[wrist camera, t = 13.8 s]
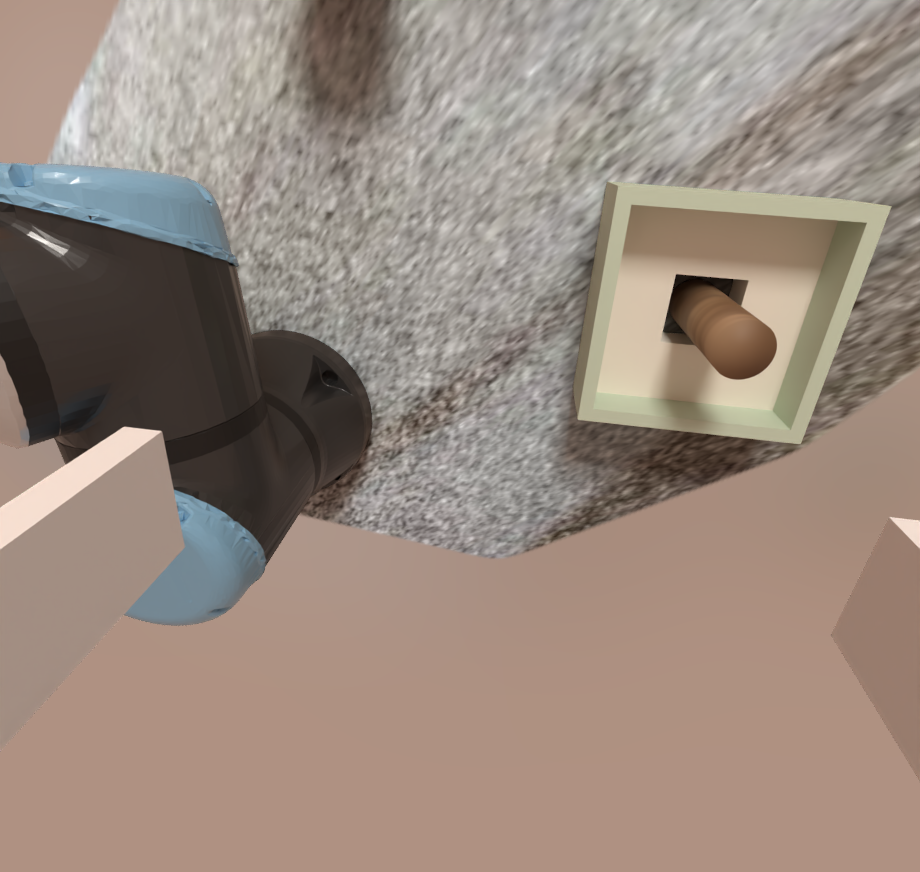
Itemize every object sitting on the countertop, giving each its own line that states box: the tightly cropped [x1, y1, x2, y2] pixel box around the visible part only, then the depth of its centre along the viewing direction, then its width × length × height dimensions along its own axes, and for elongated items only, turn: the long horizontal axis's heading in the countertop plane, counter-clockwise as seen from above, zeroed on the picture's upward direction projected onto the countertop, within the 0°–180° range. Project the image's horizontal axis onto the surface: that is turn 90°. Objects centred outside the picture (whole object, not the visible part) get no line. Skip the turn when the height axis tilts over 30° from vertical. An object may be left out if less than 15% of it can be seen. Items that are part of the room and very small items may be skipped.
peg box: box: [573, 182, 891, 444], centre depth 41 cm, size 16×16×6 cm
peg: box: [669, 279, 777, 380], centre depth 38 cm, size 4×4×12 cm
